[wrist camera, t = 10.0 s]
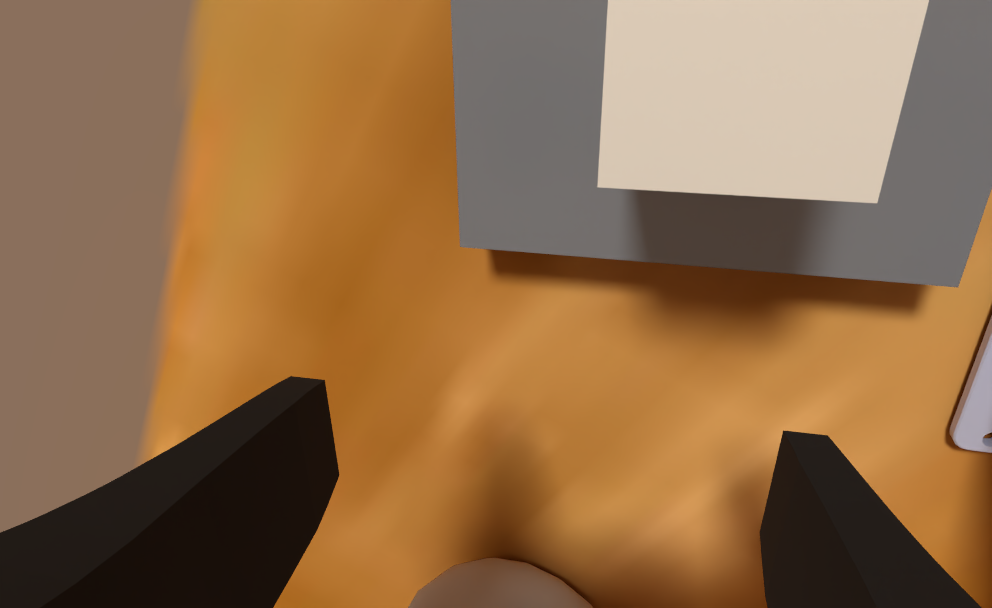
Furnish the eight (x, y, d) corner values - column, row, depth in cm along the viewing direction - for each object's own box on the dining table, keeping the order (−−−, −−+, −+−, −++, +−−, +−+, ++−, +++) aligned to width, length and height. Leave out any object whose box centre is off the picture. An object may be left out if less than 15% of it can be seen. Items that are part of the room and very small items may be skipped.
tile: (1109, -362, 13) (1197, -421, 11) (924, 245, 18) (958, 287, 16) (471, -310, 15) (437, -348, 13) (482, 213, 21) (460, 247, 19)
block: (849, -103, 13) (960, -123, 8) (808, 110, 15) (876, 203, 10) (636, -98, 14) (614, -113, 9) (622, 104, 16) (597, 187, 11)
